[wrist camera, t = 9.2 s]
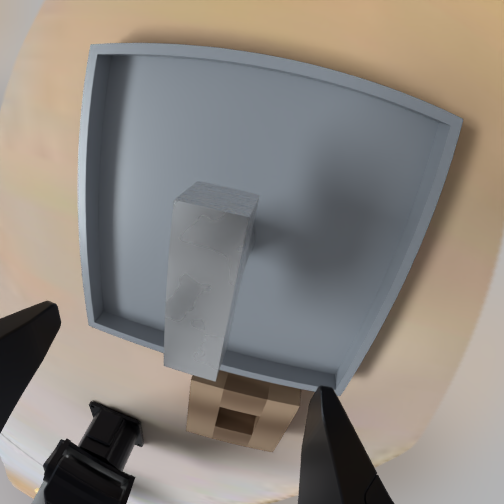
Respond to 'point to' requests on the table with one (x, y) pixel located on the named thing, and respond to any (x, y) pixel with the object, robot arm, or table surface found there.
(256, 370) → the tray
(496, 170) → the table surface
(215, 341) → the gray rectangular block
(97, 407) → the robot arm
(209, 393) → the socket block
